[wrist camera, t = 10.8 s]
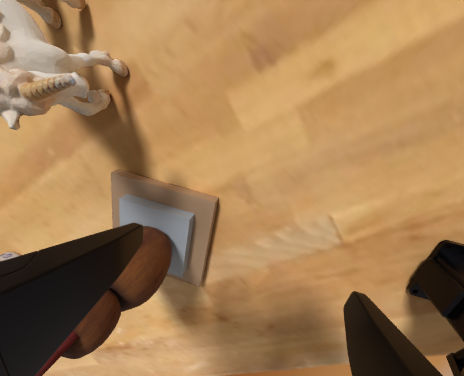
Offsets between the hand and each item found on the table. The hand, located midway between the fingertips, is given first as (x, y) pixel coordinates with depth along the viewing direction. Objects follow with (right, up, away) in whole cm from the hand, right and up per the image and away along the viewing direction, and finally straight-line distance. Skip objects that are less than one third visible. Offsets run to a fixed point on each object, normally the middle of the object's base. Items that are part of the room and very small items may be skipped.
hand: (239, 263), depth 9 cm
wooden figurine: (-9, -3, +15) cm, 18 cm away
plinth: (-9, -2, +17) cm, 19 cm away
